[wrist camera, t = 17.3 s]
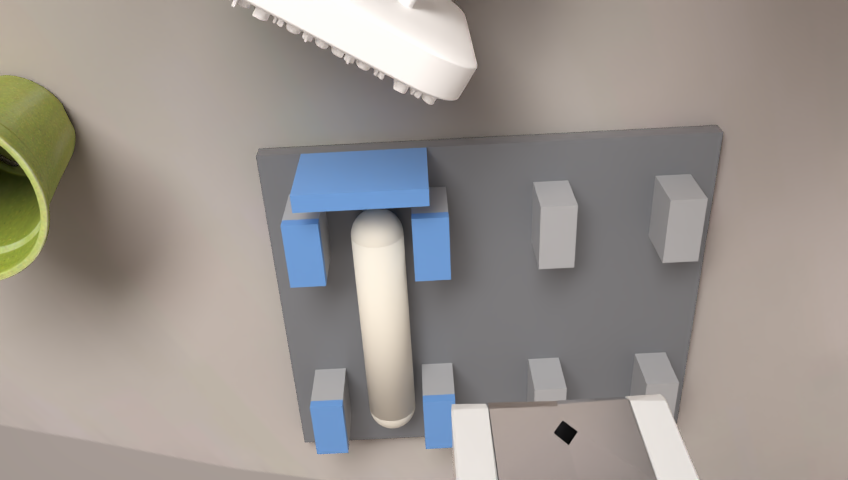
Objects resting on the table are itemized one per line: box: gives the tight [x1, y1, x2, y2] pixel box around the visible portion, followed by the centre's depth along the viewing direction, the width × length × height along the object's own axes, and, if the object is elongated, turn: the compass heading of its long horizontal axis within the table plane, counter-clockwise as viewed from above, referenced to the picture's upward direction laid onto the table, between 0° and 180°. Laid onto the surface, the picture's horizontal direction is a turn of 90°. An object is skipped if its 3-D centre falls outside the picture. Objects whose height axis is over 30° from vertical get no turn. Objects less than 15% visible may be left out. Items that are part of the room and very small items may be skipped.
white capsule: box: [351, 209, 415, 428], centre depth 48 cm, size 16×3×3 cm, turn 3°
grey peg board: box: [256, 125, 723, 454], centre depth 48 cm, size 26×22×6 cm
